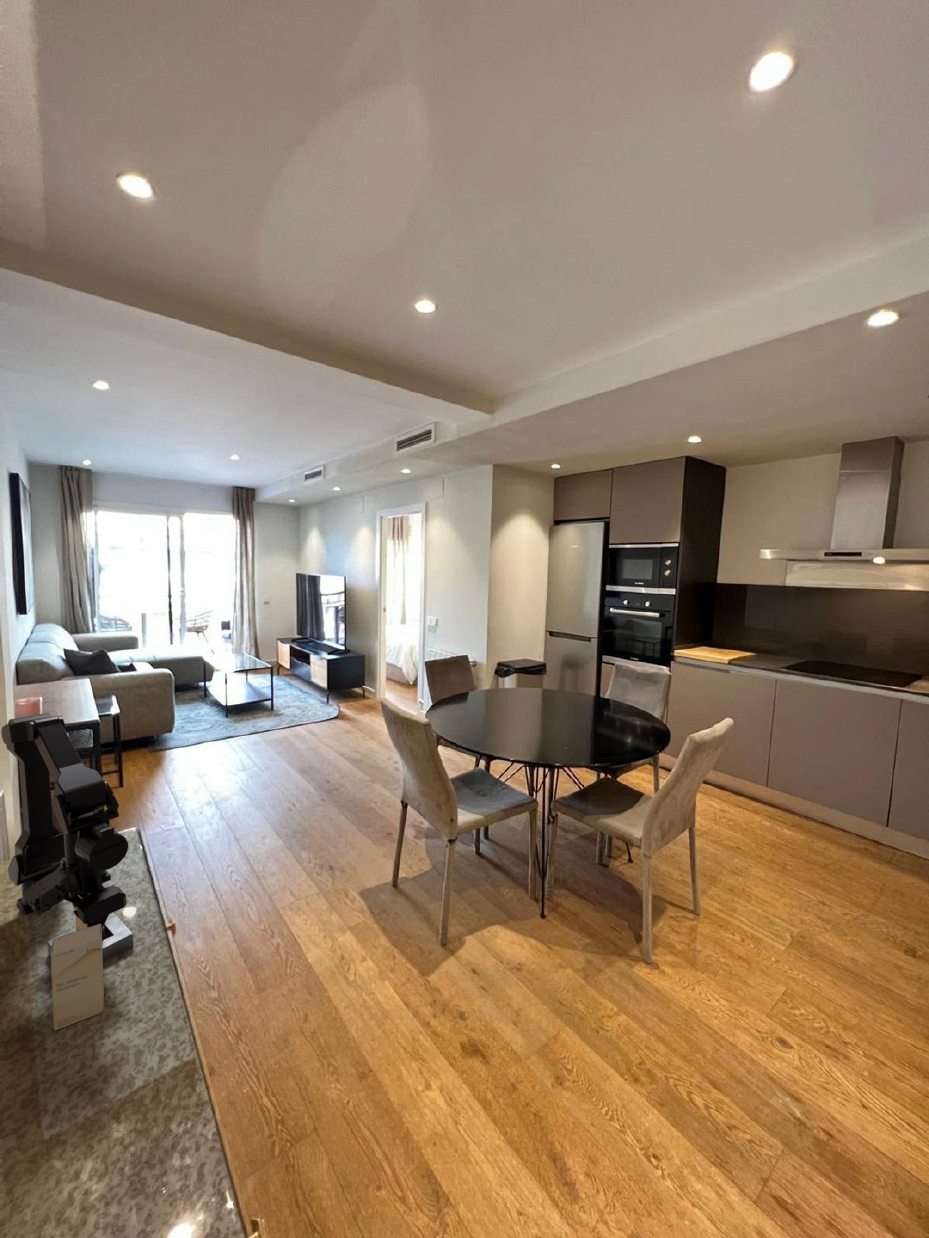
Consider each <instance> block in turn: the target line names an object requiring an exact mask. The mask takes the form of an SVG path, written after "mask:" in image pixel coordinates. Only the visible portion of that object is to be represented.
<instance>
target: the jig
mask: <svg viewBox="0 0 929 1238" xmlns="http://www.w3.org/2000/svg"><path fill="white" fill-rule="evenodd" d="M75 931H76V927H75V928H74V929H70V930H69V931H67V932H64V933H62V934H59V935H57V936H56V937H54V938H57V937H60V936H63V935H66V934H69V933H72V932H75ZM104 935H105V940H103V941H102V958H103V963H104V962H106V961H108V960H110V959H112V958H114V957H115V956H117V955H120V954H122V953H123V952H125V951H127V950H129V949H131V948H133V947H134V933H133V932H132V931H131V930H130V929H129V928H128V927H127V925H125V923H124V922H123V921H122V920H121V919H120V918H119V917H118V916H117V915H116V914H115V912H113V913H111V914H109V916H108V918H107V920H106V922H105V924H104ZM52 942H53V938H51V939H50V940H47V953H48V956H49V957H50V958H51V948H52Z"/></svg>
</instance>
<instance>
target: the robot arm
mask: <svg viewBox="0 0 929 1238" xmlns="http://www.w3.org/2000/svg"><path fill="white" fill-rule="evenodd" d="M0 733H1V739H2V742H3V744H5V746H6V749H7V750H8V751H9V753H11V754H12V755H13V757H15V758H16V759H17V760H18V769H19V771H18V772H19V781H20V792H21V793H20V794H21V805H22V807H21V808H22V816H23V818H22V819H23V830H22V833H21V834H20V835H19V836H18V839H17V840H16V842H15V843H14V856H12V857H11V859H10V862H9V864H8V867H7V872H8V878H9V880H10V881H11V882H12V883H13V884H14V885H15V886H16V887H18V886H20V887H21V898H18V899H16V904H17V905H18V906H19V907H20V910H21V911H22V912H23V914H24V915H26V914H29V913H32V912H34V913H35V914H36V915H37V916H41V915H43V914H45V913H46V912H48V911H50V910H52V909H53V908H55V907H56V906H57V905H58V904H60V903H62V902H63V900H64V901H67V902H70V903H71V904H72V906H73V908H74V909H73V914H74V915H76V916H77V917H78V918H79V919H80V920H81V921H82V922H83V923H84V924H86V925H87V928H88V927H92V926H95V925H98V924H101V926H102V928H103V926H104V924H105V922H106V920H107V918H108V916H109V914H111V913H115V912H118V911H119V910H121V909H124V908H125V907H126V906H127V894H126V893H125V891H123V889H121V888H120V887H119V886H117V885H113V884H112V885H110V886H106V887H105V886H104V883H106V882H109V881H111V878H112V877H111V873H110V872H108V870H110V869H112V868H114V867H116V866H117V865H118V864H120V863H121V862H122V861H123V859H124V858H125V857H126V855H127V853H128V850H129V842H128V840H127V838H126V837H125V836H124V835H122V834H121V833H119V832H118V831H116V830H115V828H114V826H113V825H111V824H110V821H111V820H113V819H117V818H119V817H120V813H119V807H120V804H119V802H118V801H117V798H116V795H115V793H114V791H113V789H112V787H111V786H110V785H109V783H108V782H107V780H104V778H103V777H102V776H101V775H100V773H99V771H98V770H95V769H93V768H90V767H87V766H85V764H84V762H83V761H82V759H81V756H80V755H79V753H78V751H77V750H76V748H75V746H74V744H73V742H72V740H71V738H70V736H69V735H68V733H67V731H66V724H65V720H64V718H63V715H53V716H52V715H51V713H49V712H43V713H38V714H33V715H27V716H22V717H16V718H9V720H8V722H7V724H5V725H3V726H1V732H0ZM50 776H51V777H52V779H53V781H54V784H55V787H54V792H53V796H52V787H51V777H50ZM105 807H106V809H103V808H105ZM102 809H103V810H102ZM99 810H101V811H99ZM96 811H99V812H96ZM93 812H96V813H93ZM53 813H54V814H53ZM54 816H55V817H56V819H57V822H58V824H59V826H60V829H62V832H63V833H62V832H61V831H60V830H59V829H58V828H57V827H56V826H55V825H54ZM76 905H77V910H75V906H76Z"/></svg>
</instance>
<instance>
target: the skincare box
mask: <svg viewBox="0 0 929 1238" xmlns="http://www.w3.org/2000/svg"><path fill="white" fill-rule="evenodd" d="M59 936H60V935H59ZM56 937H57V938H55V937H54V938H52V939H53V942H52V948H51V957H50V965H51V966H50V969H51V992H52V995H51V996H52V1017H53V1019H52V1021H53V1031H57V1030H60V1029H63V1028H66V1027H68V1026H71V1025H73V1024H75V1023H78V1022H81V1021H83V1020H86V1019H88V1018H91V1017H93V1016H96V1015H99V1014H101V1013H103V1012H104V1005H105V1003H104V1000H105V993H104V990H105V989H104V968H103V967H104V965H103V963H104V962H103V958H102V926H101V924H98V925H95V926H92V927H88V928H85V929H82V930H78V931H75V932H72V933H69V934H66V935H63V936H60V937H58V936H56Z"/></svg>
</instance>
